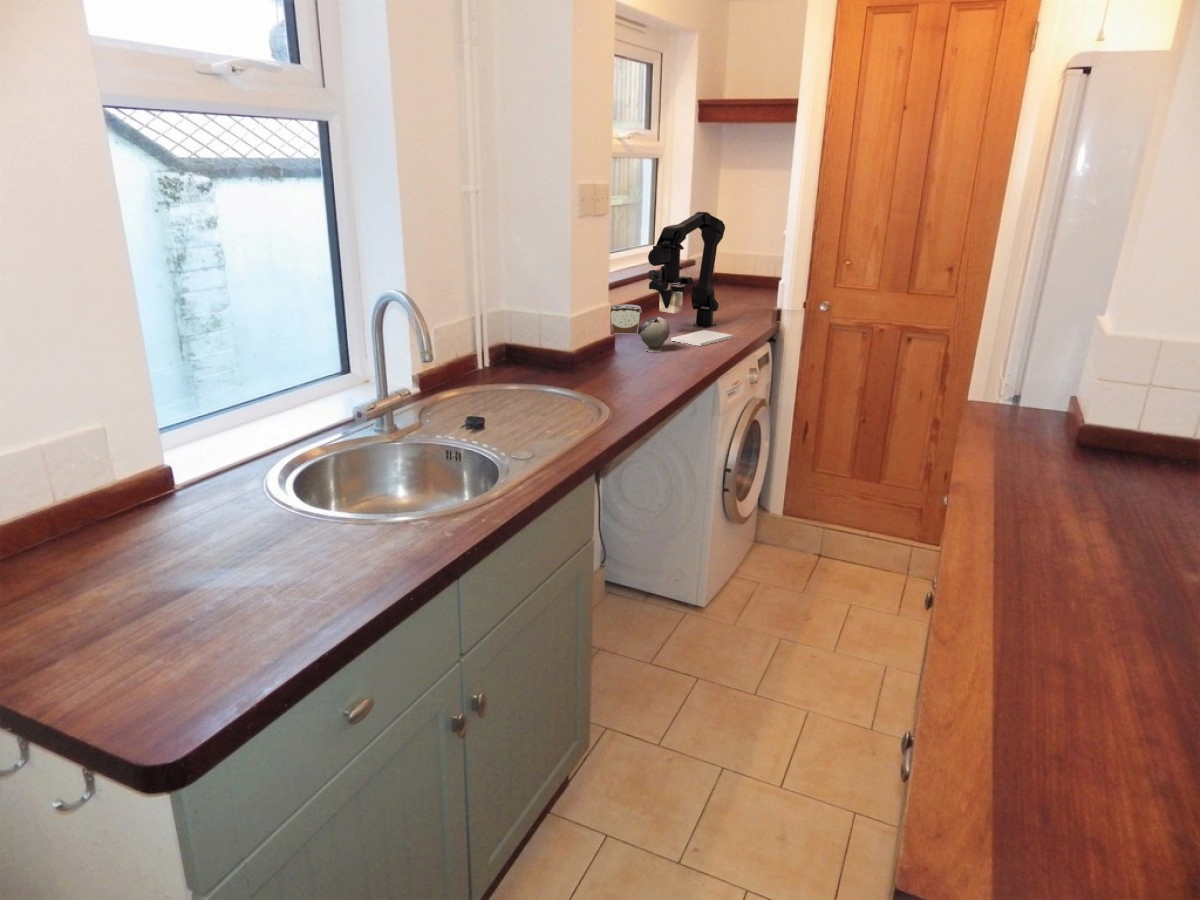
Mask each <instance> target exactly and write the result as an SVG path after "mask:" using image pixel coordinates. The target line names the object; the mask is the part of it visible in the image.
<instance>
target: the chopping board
mask: <svg viewBox="0 0 1200 900" xmlns="http://www.w3.org/2000/svg"><path fill="white" fill-rule="evenodd" d="M733 338H734V335H733V334H729V333H724V332H718V331H712V330H706V329H703V330H700V331H698V330H697V331H693V332H690V333H686V334H682V335H678V336H673V337H670V339H671V340H670V342H672V341H676V342H675V343H677V342H681V343H680V344H683V343H688V344H692V345H691V346H693V345H699V346H702V345H706V344H709V345H711V344H710V343H713V344H715V343H714V342H717V343H719V341H721V342H724V341H727V339H728V340H731V339H733ZM723 340H724V341H723ZM688 344H687V345H688ZM706 346H707V345H706ZM702 347H703V346H702Z"/></svg>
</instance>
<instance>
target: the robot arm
mask: <svg viewBox="0 0 1200 900" xmlns="http://www.w3.org/2000/svg"><path fill="white" fill-rule="evenodd" d="M697 229H699V230H700V231H701V232H700V233H701V234H700V237H701V239H702V242H703V250H702V257H701V263H700V270H699V277H698V281H697V284H696V285H695V286H694V279H693V277H692V276H686V275H681V274H680V270H683V265H681V250H684V249H685V247H684V246H683V245H682V243H683V242H684V241H685V240H686V238H687V236H688V235H689V234H690V233H692V232H693V231H695V230H697ZM725 231H726V225H725V223H724V221H723V220H721V219H720V218H717V217H715V216H714V215H712V214H711V213H709V212H708V211H696V212H695V214H693V215H692V216H690V217H687V218H686V219H684V220H682V221H681V222H680V223H678V224H677V223H676V224H671V225H667V226H664V227H663V228H662V231H661V233H660V235H659V238H658V239H657V242H656V245H653V246H652V249H651V250H650V251H649V252H648V255H647V259H648V262H649V264H650V265H651V266H653V267H658V266H660V270H657V271H656V270H655V269H650V270H649V271H648V279H649V280H650V281H649V282H648V289H649V290H654V291H658V293H659V295H660V294H661V297H662V300H663V303H664V306H665V308H668V306H669V303H670V298H671V294H672V291H676V292H683V294H684V292H685V291H686V290H687V289H688V287H689V286H692V288H691V294H690V299H691V300H690V302H691V307H692V309H693V310H696V316H695V317H696V318H695V323H693V326H694V325H697V326H696V327H700V326H702V327H701V328H711V327H714V326H717V324H716V323H713V322H714V312H717V311H719V310H718V309H719V303H718V301H717V300H716V298H715V289H714V287H713V276H714V270H715V269H714V268H715V264H716V257H717V248H718V245H719V244H720V242H722V239H723V238H724V235H725ZM686 285H687V286H686Z"/></svg>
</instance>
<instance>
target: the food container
mask: <svg viewBox="0 0 1200 900" xmlns="http://www.w3.org/2000/svg"><path fill="white" fill-rule="evenodd" d="M611 307H612V309H611V316H610V323H611V332H612V331H613V333H615V334H614V335H639V333H638V332H639V326H640V325H639V324H640V316H641V314H642V313H643V312H642V308H641V306H640V305H637V304H613V305H611Z"/></svg>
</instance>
